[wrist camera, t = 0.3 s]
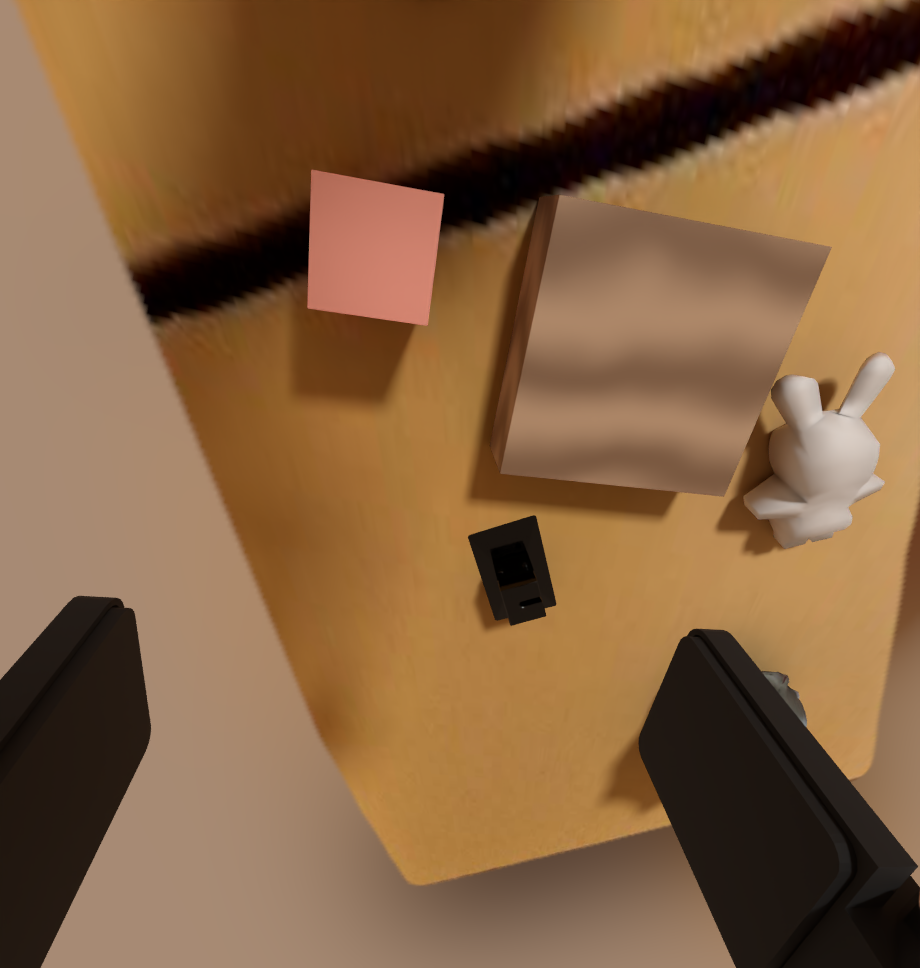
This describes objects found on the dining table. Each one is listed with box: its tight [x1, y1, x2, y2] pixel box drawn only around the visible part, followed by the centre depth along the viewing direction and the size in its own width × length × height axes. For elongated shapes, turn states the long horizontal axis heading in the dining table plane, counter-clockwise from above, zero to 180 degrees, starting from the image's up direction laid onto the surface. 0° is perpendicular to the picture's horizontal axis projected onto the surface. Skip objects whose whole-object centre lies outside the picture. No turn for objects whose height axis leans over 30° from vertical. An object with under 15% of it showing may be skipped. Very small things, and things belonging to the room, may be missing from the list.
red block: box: [307, 170, 444, 326], centre depth 28 cm, size 6×6×7 cm
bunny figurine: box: [743, 352, 895, 549], centre depth 39 cm, size 10×5×15 cm
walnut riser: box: [490, 195, 832, 497], centre depth 34 cm, size 16×16×5 cm
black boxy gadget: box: [468, 515, 556, 626], centre depth 42 cm, size 12×7×5 cm, turn 15°
